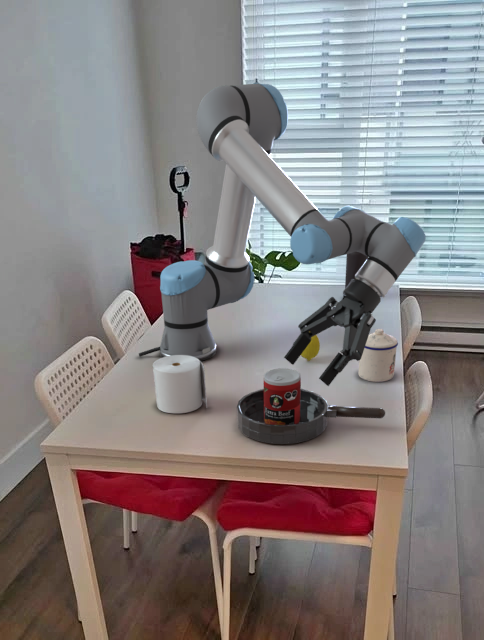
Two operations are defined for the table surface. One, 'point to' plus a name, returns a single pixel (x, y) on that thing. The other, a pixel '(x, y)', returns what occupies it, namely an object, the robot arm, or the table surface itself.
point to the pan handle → (354, 412)
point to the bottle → (353, 265)
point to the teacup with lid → (378, 357)
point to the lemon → (312, 348)
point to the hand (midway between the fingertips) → (305, 371)
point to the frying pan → (306, 429)
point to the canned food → (282, 396)
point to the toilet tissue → (179, 383)
